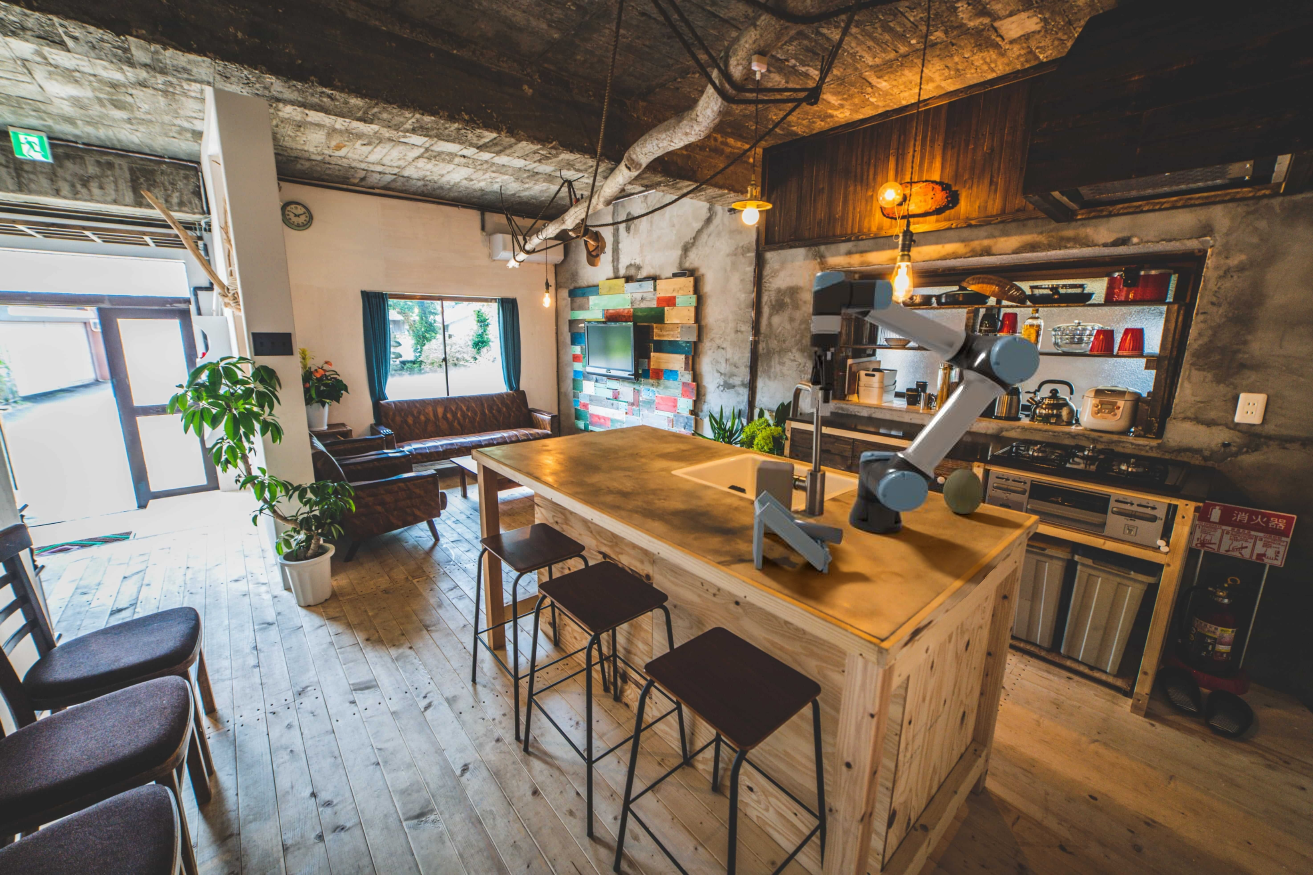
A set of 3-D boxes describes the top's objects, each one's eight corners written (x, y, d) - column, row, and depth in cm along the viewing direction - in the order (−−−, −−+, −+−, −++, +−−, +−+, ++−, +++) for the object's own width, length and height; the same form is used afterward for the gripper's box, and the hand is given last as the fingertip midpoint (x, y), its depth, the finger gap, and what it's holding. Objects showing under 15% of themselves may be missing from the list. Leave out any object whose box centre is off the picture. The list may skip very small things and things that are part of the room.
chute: (822, 555, 136) (828, 493, 132) (831, 573, 125) (837, 506, 122) (751, 551, 138) (754, 490, 134) (754, 568, 127) (757, 502, 124)
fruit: (935, 511, 171) (940, 468, 168) (947, 504, 178) (952, 463, 175) (973, 521, 163) (980, 475, 160) (984, 513, 170) (991, 469, 167)
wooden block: (790, 525, 157) (794, 462, 153) (787, 536, 148) (792, 470, 144) (757, 521, 160) (761, 459, 156) (753, 532, 151) (756, 466, 147)
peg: (789, 532, 132) (836, 542, 132) (792, 536, 128) (840, 546, 128) (793, 517, 132) (839, 527, 131) (796, 520, 128) (844, 530, 127)
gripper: (802, 332, 148) (798, 405, 153) (819, 332, 124) (813, 418, 128) (829, 333, 148) (824, 406, 152) (851, 332, 123) (844, 419, 127)
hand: (819, 412), depth 140 cm, fingers open, 13 cm apart
